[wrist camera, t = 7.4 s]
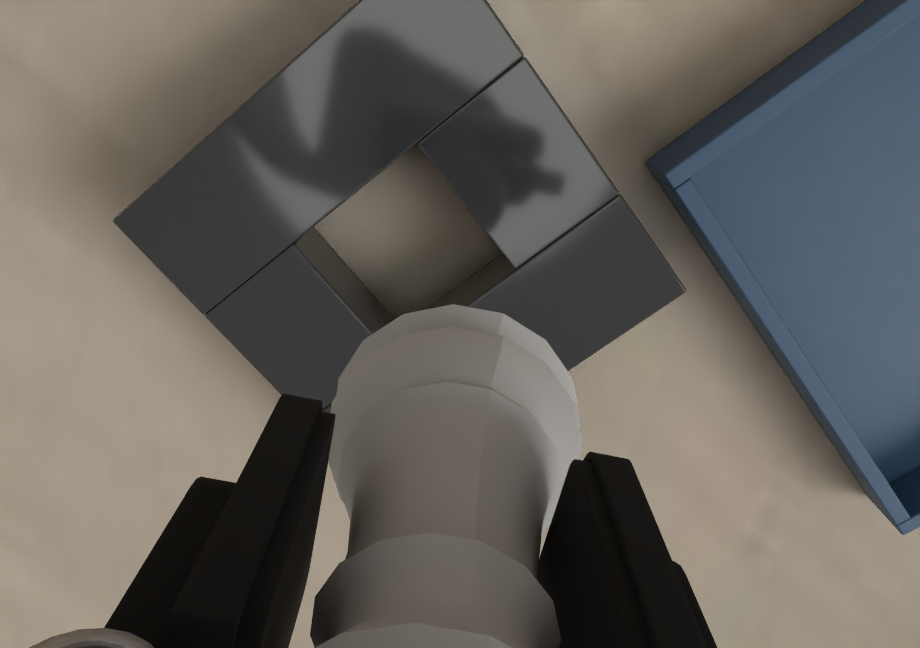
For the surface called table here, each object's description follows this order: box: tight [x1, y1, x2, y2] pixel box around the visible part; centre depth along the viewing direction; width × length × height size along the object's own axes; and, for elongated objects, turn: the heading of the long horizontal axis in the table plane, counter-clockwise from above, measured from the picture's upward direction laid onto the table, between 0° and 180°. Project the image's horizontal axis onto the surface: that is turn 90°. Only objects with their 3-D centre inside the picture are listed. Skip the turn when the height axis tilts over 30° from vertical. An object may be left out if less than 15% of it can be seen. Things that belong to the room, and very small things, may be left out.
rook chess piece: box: [310, 304, 583, 648], centre depth 9 cm, size 4×4×8 cm
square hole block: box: [113, 0, 686, 413], centre depth 23 cm, size 13×13×3 cm
